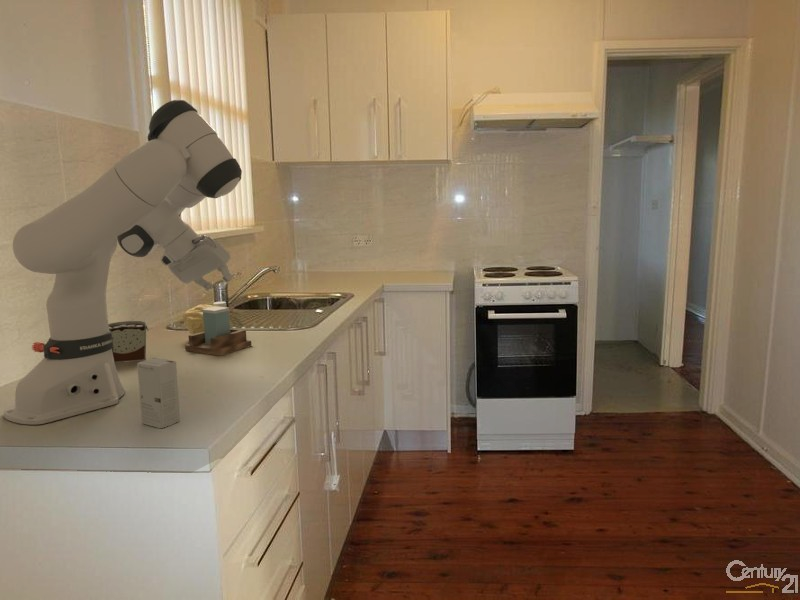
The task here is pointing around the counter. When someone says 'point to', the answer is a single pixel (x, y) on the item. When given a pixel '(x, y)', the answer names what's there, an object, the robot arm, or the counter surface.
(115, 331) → the food container
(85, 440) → the counter surface
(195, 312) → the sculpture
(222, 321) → the tin
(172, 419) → the skincare box
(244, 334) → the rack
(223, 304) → the supplement bottle
